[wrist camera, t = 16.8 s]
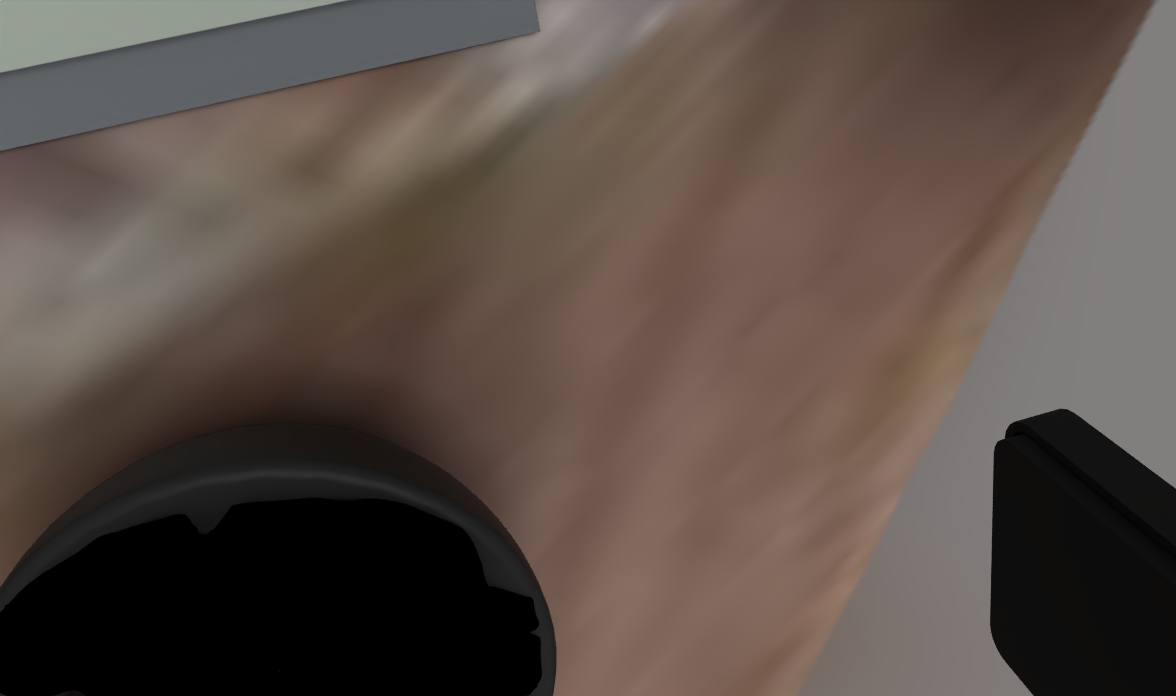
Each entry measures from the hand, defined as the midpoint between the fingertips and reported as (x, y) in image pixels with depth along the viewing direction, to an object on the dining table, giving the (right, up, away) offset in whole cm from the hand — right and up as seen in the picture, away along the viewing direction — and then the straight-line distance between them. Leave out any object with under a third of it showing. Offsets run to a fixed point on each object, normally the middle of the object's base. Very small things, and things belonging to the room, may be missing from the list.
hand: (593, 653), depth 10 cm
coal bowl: (-13, -5, +34) cm, 37 cm away
